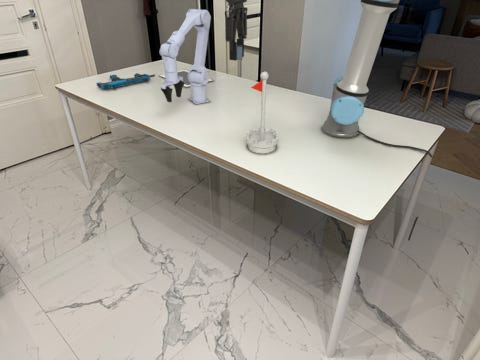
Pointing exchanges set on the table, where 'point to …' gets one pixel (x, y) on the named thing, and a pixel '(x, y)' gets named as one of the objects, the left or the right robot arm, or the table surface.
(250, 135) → the flag stand
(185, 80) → the tablet
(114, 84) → the submachine gun
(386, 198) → the table surface
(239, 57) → the block
